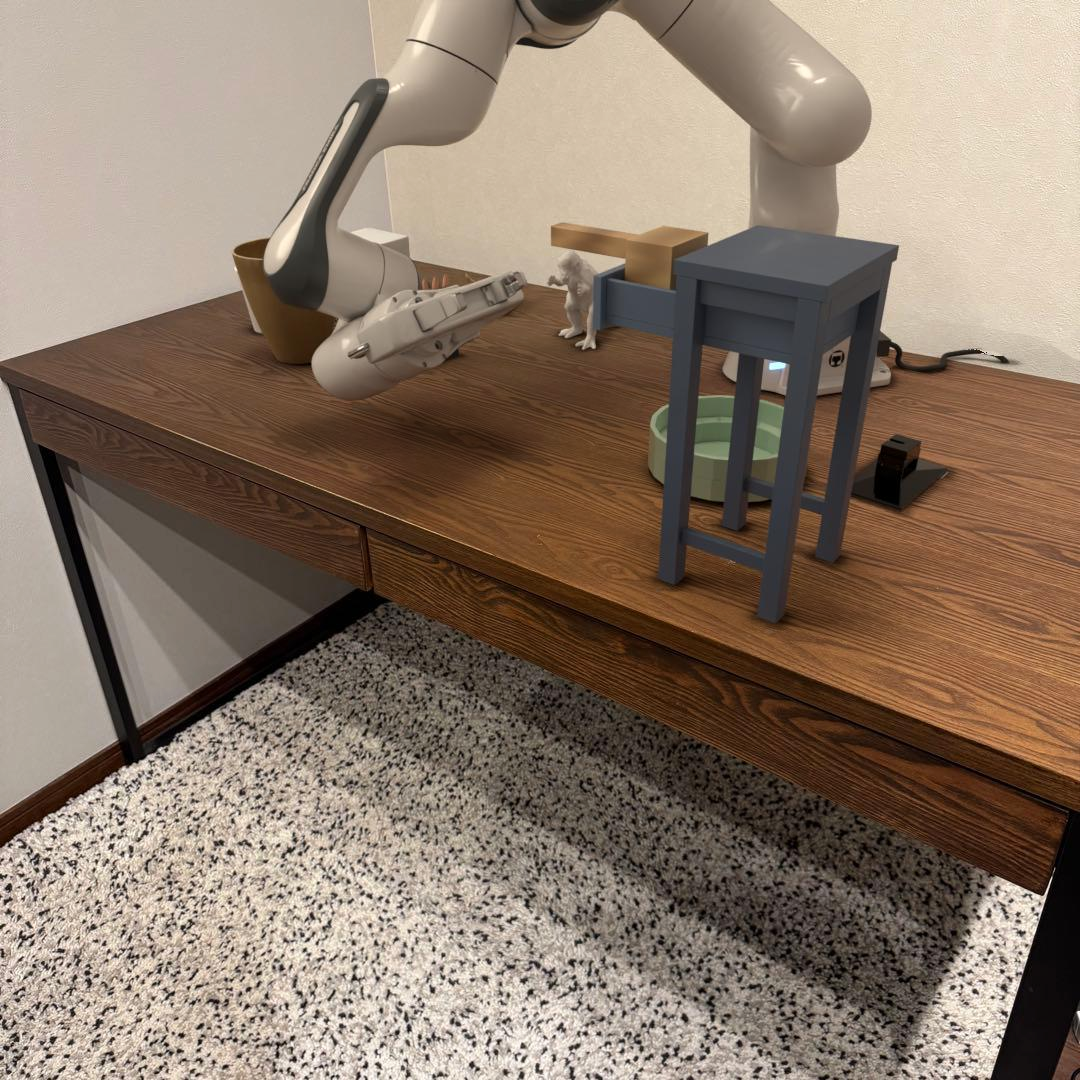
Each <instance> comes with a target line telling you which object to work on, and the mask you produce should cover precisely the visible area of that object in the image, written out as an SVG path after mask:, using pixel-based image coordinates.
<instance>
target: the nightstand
mask: <svg viewBox="0 0 1080 1080" xmlns="http://www.w3.org/2000/svg"><path fill="white" fill-rule="evenodd" d="M899 250H900V245H899V244H894V243H887V242H878V241H872V240H867V239H866V240H865V239H858V238H851V237H844V236H837V235H836V236H831V235H823V234H816V233H809V232H802V231H795V230H788V229H781V228H774V227H767V226H760V225H757V226H754V227H752V228H749V229H748V228H747V229H745V230H742V231H740V232H737V233H735V234H732V235H730V236H727V237H725V238H723V239H721V240H718V241H716V242H713V243H711V244H708V246H706V247H704V248H701V249H699V250H696V251H694V252H691V253H689V254H687V255H684V256H682V257H679V258H677V259H675V260H674V273H673V275H676V276H677V280H676V291H675V290H669V289H664V288H659V287H654V286H649V285H643V284H638V283H633V282H628V281H625V263H622V264H619V265H617V266H614V267H612V268H610V269H607V270H604V271H601V272H600V273H599V272H598V273H599V274H597V275H594V288H593V329H596V331H602V330H604V329H606V328H609V327H612V326H611V325H615V326H614V327H621V328H624V329H629V330H633V331H637V332H642V333H645V334H651V335H655V336H661V337H663V338H670V339H672V344H671V345H672V347H671V361H670V362H671V364H670V376H669V377H670V379H669V380H670V381H669V393H668V394H669V395H668V404H669V409H668V425H667V441H666V458H665V474H664V484H663V491H662V508H661V523H660V524H661V525H660V539H659V556H658V574H657V580H660V581H662V582H665V583H667V584H669V585H672V586H676V585H677V584H678V583H679V582H680V581H681V580H682V579H684V578H685V573H686V561H687V547H691V548H693V549H696V550H700V551H702V552H705V553H708V554H710V555H714V556H716V557H719V558H722V559H725V560H727V561H731V562H734V563H736V564H739V565H742V566H744V567H747V568H750V569H753V570H756V571H759V572H762V574H761V583H760V591H759V597H758V604H757V612H756V617H757V618H759V619H762V620H764V621H766V622H769V623H772V624H777V623H778V622H779V621H780V620H781V619H782V618H783V617H784V616H785V613H786V608H787V600H788V593H789V587H790V586H789V585H790V580H791V572H792V566H793V559H794V554H795V553H794V552H795V544H796V537H797V533H798V532H797V531H798V526H799V518H800V512H801V510H804V511H807V512H810V513H814V514H817V515H820V516H821V518H820V524H819V529H818V530H819V531H818V535H817V542H816V549H815V554H814V557H815V558H817V559H820V560H822V561H826V562H828V563H831V564H834V563H835V561H836V560H838V558H839V557H840V556H841V552H842V549H843V542H844V535H845V530H846V524H847V520H848V514H849V508H850V503H851V498H852V495H851V492H852V486H853V481H854V476H855V475H856V468H857V462H858V457H859V453H860V447H861V441H862V435H863V429H864V424H865V418H866V412H867V406H868V401H869V396H870V390H871V387H870V385H871V380H872V374H873V368H874V363H875V357H876V351H877V346H878V340H879V335H880V331H881V328H882V323H883V317H884V312H885V306H886V302H887V295H888V289H889V283H890V277H891V273H892V266H893V263H894V262H896V261H897V259H898V254H899ZM850 336H851V339H850V345H849V351H848V357H847V363H846V369H845V376H844V382H843V388H842V392H841V393H840V394H841V395H840V401H839V407H838V414H837V420H836V425H835V431H834V437H833V443H832V450H831V456H830V462H829V468H828V474H827V480H826V481H827V482H826V487H825V493H824V497H821V496H817V495H814V494H810V493H807V492H804V484H805V479H806V476H805V472H806V473H807V469H806V465H807V466H808V462H807V458H808V459H809V455H808V452H809V453H810V449H809V445H810V446H811V442H810V438H811V439H812V431H813V426H814V425H813V424H814V418H815V410H816V403H817V397H818V395H817V391H818V384H819V377H820V370H821V364H822V357H823V354H825V353H826V352H828V351H829V350H831V349H832V348H834V347H835V346H836V345H838V344H839V343H841V342H842V341H844V340H845V339H847V338H848V337H850ZM704 346H705V347H708V348H713V349H719V350H723V351H728V352H729V351H731V352H736V353H739V357H738V367H737V377H736V382H735V387H734V388H735V389H734V396H735V397H734V407H733V417H732V427H731V437H730V447H729V457H728V467H727V477H726V487H725V497H724V502H723V508H722V519H721V527H724V528H727V529H731V530H733V531H735V532H738V531H739V530H740V529H741V528H743V527H744V526H745V525H746V522H747V514H748V505H749V502H748V497H749V493H752V494H755V495H758V496H761V497H765V498H768V500H771V507H770V513H769V522H768V529H767V536H766V543H765V552H762V551H758V550H756V549H752V548H750V547H747V546H744V545H742V544H738V543H735V542H733V541H730V540H727V539H724V538H721V537H717V536H715V535H712V534H710V533H706V532H704V531H700V530H697V529H695V528H693V527H689V523H690V511H691V510H690V508H691V497H692V496H691V486H692V473H693V460H694V448H695V435H696V422H697V410H698V397H699V396H700V384H701V383H700V382H701V373H702V372H701V370H702V369H701V367H702V360H703V359H702V358H703V347H704ZM764 359H767V360H772V361H776V362H781V363H785V364H790V366H789V373H788V381H787V389H786V396H785V397H784V403H783V404H784V405H783V406H784V412H783V420H782V427H781V435H780V443H779V451H778V458H777V466H776V474H775V481H774V483H771V482H767V481H764V480H761V479H757V478H754V477H751V471H752V462H753V454H754V445H755V436H756V428H757V419H758V410H759V402H760V400H761V392H762V390H761V384H762V375H763V367H764Z"/></svg>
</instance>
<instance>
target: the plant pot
mask: <svg viewBox="0 0 1080 1080" xmlns="http://www.w3.org/2000/svg"><path fill="white" fill-rule="evenodd" d="M270 237H271V236H269V237H263V238H257V239H252V240H249V241H245V242H242V243H240V244H237V245H236V246H235V245H234V247H233V248H232V249H231V252H230V253H231V255H232V258H233V262H234V265H235V266H236V268H237V271H238V274H239V277H240V281H241V283H242V286H243V289H244V292H245V294H246V297H247V300H248V302H249V305H250V307H251V309H252V312H253V314H254V316H255V318H256V321H257V323H258V325H259V327H260V329H261V331H262V333H261V334H262V335H263V337H264V339H265V341H266V343H267V344H268V347H269V349H270V350H271V352H272V354H273V356H274V358H276V360H277V361H278V362H280V363H283V364H289V365H303V364H304V365H305V364H310V363H311V364H312V357H313V355H314V353H315V351H316V350H317V348H318V347H319V346H320V345H321V344H322V343H323V342H324V341H325V340H326V339H327V338H328V337H330V336H331V334H332V333H333V331H334V328H335V327H334V326H335V322H336V317H333V316H330V315H327V314H324V313H321V312H318V311H311V310H307V309H302V308H298V307H294V306H290V305H285V304H283V303H282V302H281V301H280V300H279V299H278V297H277V296H276V295H275V293H274V292H273V290H272V289H271V287H270V285H269V283H268V281H267V279H266V277H265V274H264V271H263V256H264V252H265V249H266V246H267V244H268V241H269V239H270ZM240 281H239V282H240Z"/></svg>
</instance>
